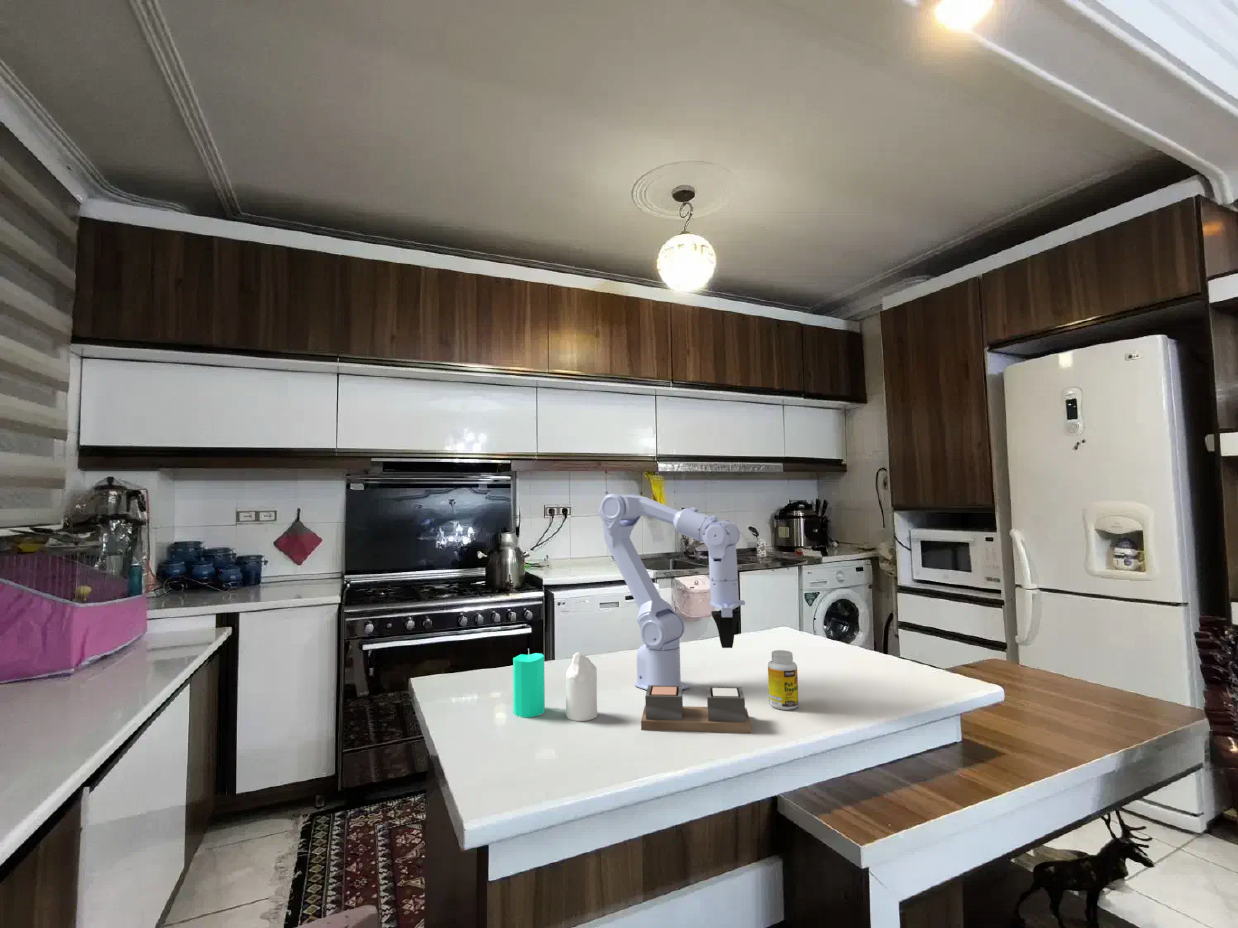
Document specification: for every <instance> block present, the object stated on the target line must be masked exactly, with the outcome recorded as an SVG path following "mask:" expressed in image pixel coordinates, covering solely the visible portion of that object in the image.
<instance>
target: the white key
mask: <svg viewBox="0 0 1238 928" xmlns="http://www.w3.org/2000/svg"><path fill="white" fill-rule="evenodd" d="M712 690H713V697H738V692H737V688H712Z"/></svg>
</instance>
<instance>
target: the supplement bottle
mask: <svg viewBox="0 0 1238 928" xmlns="http://www.w3.org/2000/svg"><path fill="white" fill-rule="evenodd" d="M793 660H794V655H793V652H791V651H790V650H783V649H781V650H780V649H779V650H777V649H776V650H772V651H771V660H769V662H768V663H767V678H768V681H767V682H768V703H769V705H770V706H771V707H772V708H775V709H777V710H784V711H790V710H791V711H792V710H795V709H797V708H798V706H799V683H798V682H799V681H798V678H799V677H798V676H799V675H798V664H797V663H796V662H795V661H793Z"/></svg>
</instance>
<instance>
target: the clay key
mask: <svg viewBox="0 0 1238 928" xmlns="http://www.w3.org/2000/svg"><path fill="white" fill-rule="evenodd" d="M651 695H658V696H677V687H653V689H652V694H651Z"/></svg>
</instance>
